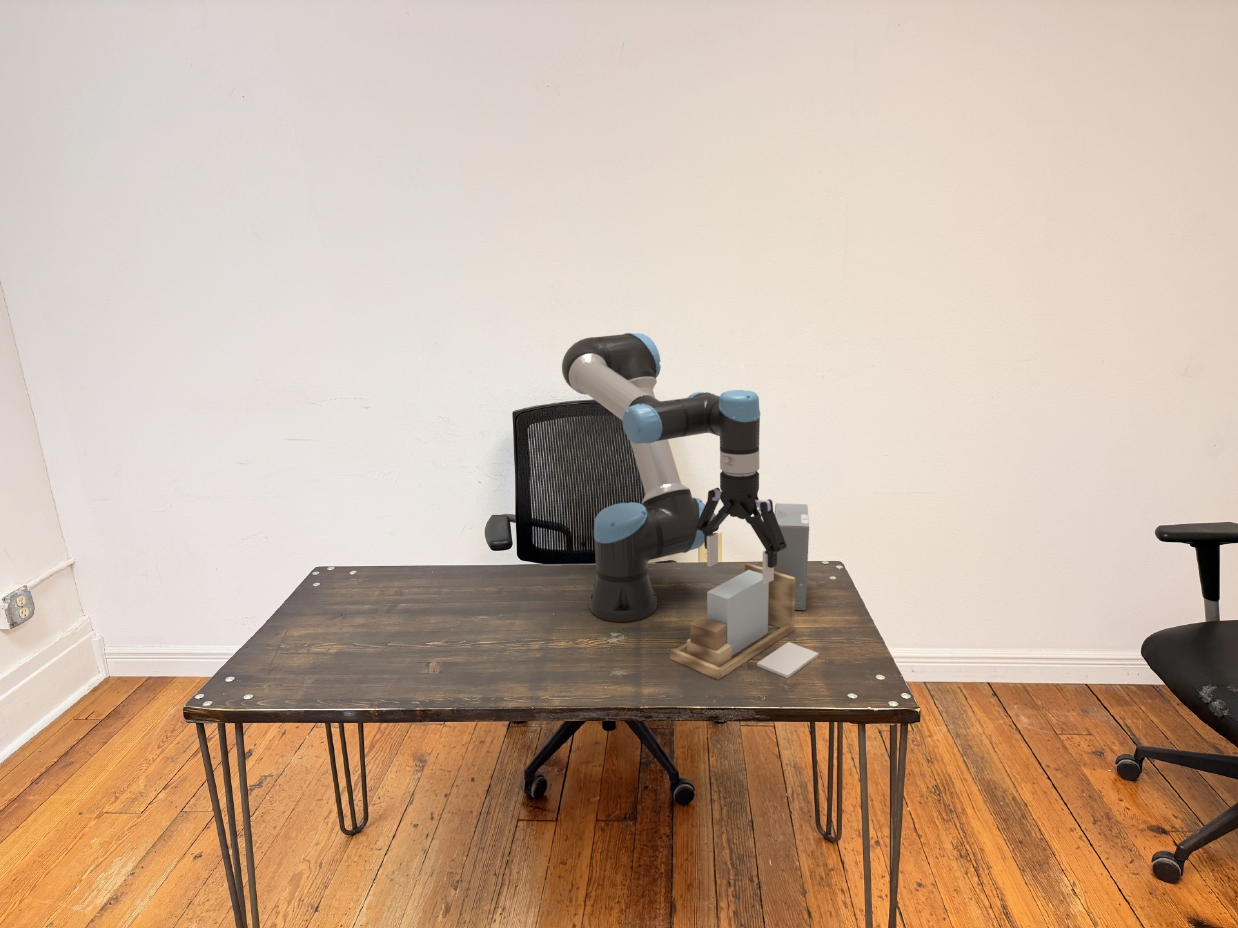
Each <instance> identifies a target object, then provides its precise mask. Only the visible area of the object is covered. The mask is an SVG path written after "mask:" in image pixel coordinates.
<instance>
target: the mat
mask: <svg viewBox="0 0 1238 928" xmlns="http://www.w3.org/2000/svg"><path fill="white" fill-rule="evenodd" d="M819 655H820V654H819V652H816V651H814V650H812V649H809V648H806V647H803V646H800V645H797V644H795V643H793V642H790V641H788V642H786V643H784V644H783V645H781V646H780V647H778V648H777V649H776V650H775V651H773V652H771V653H770V654H768V655H766V656H765V657H764V658H762V659H761V660H759V661H758V662H756V666H757V667H758V668H759V667H760V668H762V669H764V670H766V671H769V672H771V673H773V674H776V675H779V676H780V677H784V678H786V679H789V678H790V677H792V676H793V675H794V674H796V673H798V672H799V670H801V669H802V668H804V667H806V666H807V665H808V664H810V663H811V662H812V661H814V660H815V659H817V658H818V657H820V656H819Z"/></svg>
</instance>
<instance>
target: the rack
mask: <svg viewBox="0 0 1238 928" xmlns="http://www.w3.org/2000/svg"><path fill="white" fill-rule="evenodd" d="M747 570H751V571H754V572H758V573H761V574H763V566H758V565H755V564H752V563H750V562H747V563H745V564H744V572H746V571H747ZM795 612H796V610H795V577H792V576H788V575H785V574H782V573H779V572H775V571H774V580H772V581H771V582H769V594H768V625H772V626H774V627H778V630H776V631H774V632H772V633H771V634H769V635H767V636H766V637H765V638H763V639H761V640H760V641H758V642H757V643H754V644H753V646H751V647H749V648H748V649H746V650H745V651H743V652H741V653H740V654H739V655H736V656H735V657H733V658H732V660H731V661H729V662H727V663H726V664H724V665H723V666H721V667H720V668H719V667H717V666H714V665H712V664H710V663H707V662H705V661H703V660H700V659H698V658H696V657H693V656H691V655H689V654H687V641H686V642H685V643H683V644H682V645H680V646H678V647H677V648H674V647H672V648H671V649H669V659H670V660H672V661H674V662H677V663H679V664H681V665H683V666H685V667H688V668H690V669H692V670H695V671H697V672H699V673H701V674H704V675H706V676H708V677H710V678H713V679H715V680H717V681H718V680H721V679H722V678H724V676H727V675H728V674H729V673H731V672H733V671H734V670H736V669H737V668H739V667H741V666H742V665H743V664H745V663H746V662H748V661H749V660H751V659H752V658H754V657H756V656H757V655H758V654H760V653H762V652H763V651H765V650H766V649H768V648H770V647H771V646H772V645H774V644H775V643H776V642H778V641H780V640H781V639H783V638H785V637H786V636H788V635H789V634H790V633H792V632H793V631H795Z"/></svg>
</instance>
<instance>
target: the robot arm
mask: <svg viewBox="0 0 1238 928" xmlns="http://www.w3.org/2000/svg"><path fill="white" fill-rule="evenodd" d="M660 362H661V356H660V352H659V350H658V347H657V345H656V343H655V342H654V341H653V340H652V338H650V337H649V336H648V335H646V334H644V333H640V332H635V333H631V332H627V333H623V334H614V335H605V336H595V337H594V336H591V337H586V338H583V339H579V340H578V341H576V342H574V343H573V344H572V345H571V346H570V347H569V348H568V349H567V351H566V352H565V353H564V356H563V359H562V363H561V373H562V376H563V379H564V381H565V382H566V384H567V385H568V386H569V387H570V388H571V389H572V390H574V392H576V393H578V394H580V395H587V396H589V397H590V398H592V400H594V401H596V402H597V403H598V404H599V405H601V406H602V407H604V408H605V409H607V410H608V411H609V412H610V413H612V414H613V415H614V416H616V417H617V418H618V419H620V420H621V421H622V427H623V431H624V434H625V435H626V437H627V440H629V441H630V445H631V448H632V452H633V455H634V458H635V462H636V466H637V468H638V472H639V476H640V480H641V483H642V486H643V490H644V493H645V495H644V498H643V499H642V500H641V503H639V502H630V501H629V502H628V503H627V502H621V503H620V502H619V503H615V504H612V505H609V506H607V507H605V508H602V510H600V511H599V512H598V513H597V515H596V516H595V518H594V525H593V526H594V527H593V528H594V529H593V538H594V551H595V552H594V554H595V569H596V571H595V573H596V577H595V581H594V584H593V588H592V593H591V594H590V596H589V597H590V598H589V610H590V612H591V613H592V614H593V615H594V616H595V617H596V618H599V619H601V620H605V621H608V622H615V623H616V622H617V623H626V622H627V623H629V622H635V621H639V620H643V619H646V618H648V617H649V616H651V615H653V614H654V613H655V612H656V610H657V608H658V607H657V605H658V602H657V599H658V598H657V594H656V592H655V590H654V587H653V584H652V581H651V578H650V575H649V561H651V560H656V559H659V558H660V559H661V558H665V557H668V556H673V555H678V554H681V553H682V554H685V553H688V552H690V551H693V550H697V549H699V548H701V547H702V546H703V545H704V549H705V550H706V566H707V567H712V566H715V565H716V564H718V563H719V533H718V532H716V531H717V529H718V528H719V527H720V525H721V524H722V523H723V522H724V521H726V520H725V519H726V518H727V517H729V516H730V517H732V518H738V519H740V520H745V522H746V523H747V524H749V525H750V527H751V528H752V531H753V532H754V533H755V535H756V536H757V538H758V540H759V541H760V543H761V545H762V546H763V547H764V549H765V550H763V551H762V568H763V578H762V583H763V584H767V583H769V582H771V581H772V580H774V567H775V566H776V565H777V552H779V551H781V550H783V549H785V548H786V547H787V545H786V542H785V540H784V537H783V535H782V532H781V529H780V527H779V524H778V522H777V519H776V517H775V511H774V503H773V500H772V499H770V498H769V499H766V500H763V499H761V500H760V499H759V496H758V495H759V494H758V493H759V489H760V473H759V470H760V431H761V430H760V429H761V428H760V421H761V420H760V419H761V410H760V398H759V395H758V394H757V392H754V391H752V390H743V389H734V390H733V389H732V390H726V391H724V392H722V393H721V394H720V395H716V394H714V393H711V392H707V391H706V392H703V391H697V392H693V393H691V394H690V395H688V396H687V397H685V398H677V399H669V400H663V401H661V400H658V398H656V396H655V392H654V388H655V387H656V384H657V382H658V381H657V378H658V377H659V375H660V372H661V364H660ZM702 434H712V435H715V436H718V437H719V468H720V473H719V479H720V480H719V487H715V488H713V489H710V490H708V492H707V501H706V502H705V503H704V502H703V500H702V499H701V498H698V497H696V496H695V497H693V495H692V492H691V489H690V488H689V487H687V486H686V485H683V484H682V482H681V481H682V480H681V479H680V475H679V472H678V468H677V465H676V462H675V458H674V456H673V452H672V448H671V444H670V442H669V440H672V439H676V438H685V437H691V436H697V435H702ZM720 501H721V503H722V505H723V506H721V508H720V509H719V510H718V512H717V514H716V515H715V516H714V517H713V515H714V512H715V511H716V508H717V506H718V504H719V502H720ZM752 515H753V516H752ZM712 517H713V518H712Z"/></svg>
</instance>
